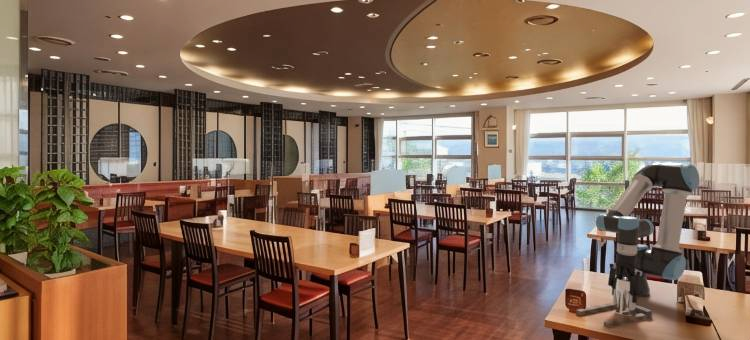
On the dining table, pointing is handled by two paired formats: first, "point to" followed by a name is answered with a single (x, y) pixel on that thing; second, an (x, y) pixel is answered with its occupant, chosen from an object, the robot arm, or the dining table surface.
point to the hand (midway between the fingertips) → (623, 306)
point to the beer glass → (623, 296)
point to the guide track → (639, 315)
